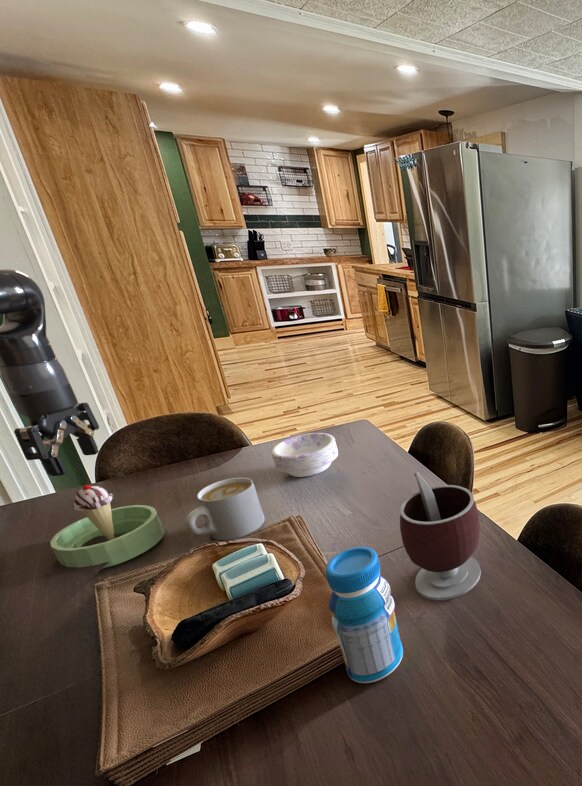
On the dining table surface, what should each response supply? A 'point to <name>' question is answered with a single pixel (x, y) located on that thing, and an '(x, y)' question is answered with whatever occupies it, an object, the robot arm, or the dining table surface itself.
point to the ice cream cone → (96, 508)
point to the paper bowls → (305, 454)
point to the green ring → (127, 519)
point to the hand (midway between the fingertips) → (76, 464)
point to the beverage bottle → (363, 615)
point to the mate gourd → (441, 539)
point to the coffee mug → (227, 509)
